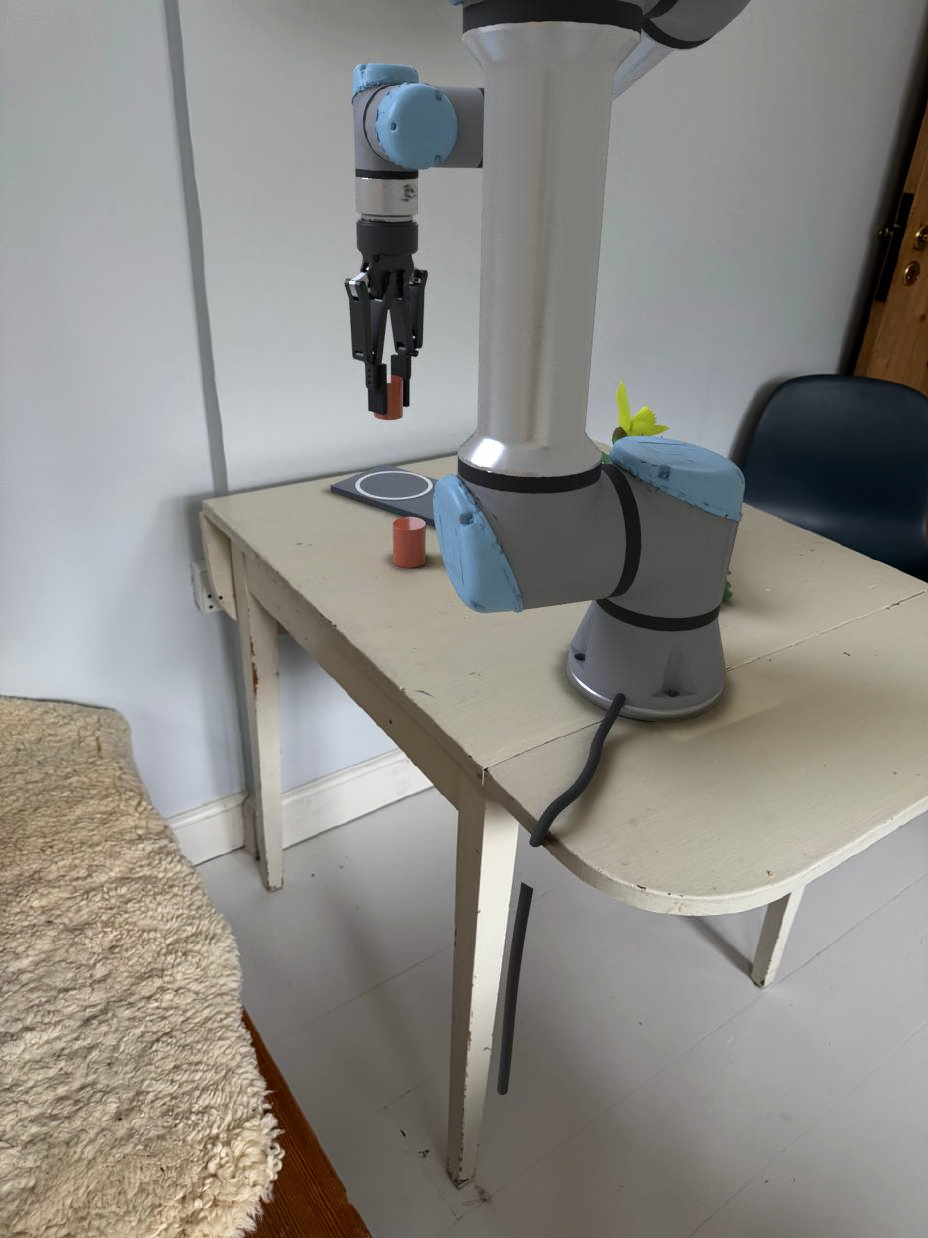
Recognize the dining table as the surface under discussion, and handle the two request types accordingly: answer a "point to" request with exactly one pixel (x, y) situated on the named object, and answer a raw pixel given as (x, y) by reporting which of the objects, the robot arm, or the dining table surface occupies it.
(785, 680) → the dining table surface
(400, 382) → the short coral cylinder
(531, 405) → the robot arm
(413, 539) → the red cylinder block
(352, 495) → the slate board
